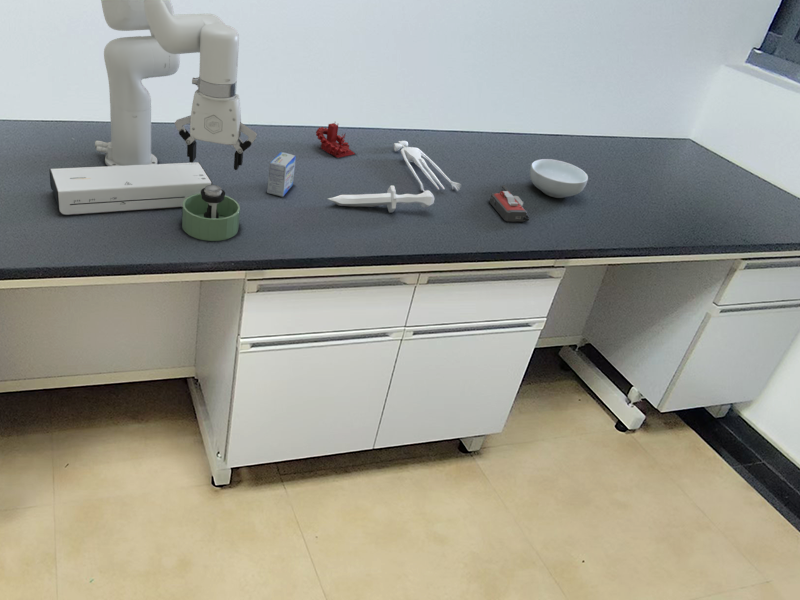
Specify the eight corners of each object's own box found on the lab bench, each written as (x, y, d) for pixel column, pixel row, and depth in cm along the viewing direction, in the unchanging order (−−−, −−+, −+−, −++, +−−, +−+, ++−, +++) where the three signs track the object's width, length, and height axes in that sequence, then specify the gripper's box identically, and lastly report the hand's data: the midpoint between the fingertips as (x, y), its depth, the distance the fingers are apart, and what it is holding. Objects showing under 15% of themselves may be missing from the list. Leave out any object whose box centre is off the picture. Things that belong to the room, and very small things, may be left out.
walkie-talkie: (534, 224, 209) (504, 190, 224) (539, 210, 206) (508, 176, 222) (506, 224, 206) (477, 189, 221) (510, 209, 203) (481, 175, 218)
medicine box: (283, 197, 195) (286, 166, 190) (266, 193, 196) (269, 162, 191) (293, 185, 202) (296, 155, 197) (276, 181, 202) (279, 150, 197)
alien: (413, 146, 239) (417, 132, 236) (458, 201, 217) (463, 185, 214) (378, 146, 234) (382, 131, 231) (420, 202, 212) (425, 186, 209)
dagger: (327, 208, 192) (437, 204, 195) (325, 185, 193) (436, 181, 196) (326, 217, 199) (433, 213, 203) (325, 194, 200) (431, 190, 204)
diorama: (353, 161, 221) (357, 134, 217) (311, 154, 220) (315, 126, 216) (355, 147, 230) (360, 120, 226) (316, 140, 229) (319, 113, 225)
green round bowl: (175, 235, 171) (175, 213, 168) (190, 209, 182) (190, 188, 179) (231, 244, 172) (233, 223, 169) (243, 219, 183) (244, 198, 180)
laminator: (58, 216, 169) (56, 191, 166) (50, 190, 177) (48, 166, 174) (211, 205, 185) (212, 182, 182) (196, 182, 194) (197, 159, 190)
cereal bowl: (567, 181, 238) (574, 160, 234) (590, 206, 225) (597, 184, 221) (517, 177, 233) (523, 156, 230) (537, 203, 220) (544, 181, 216)
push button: (195, 219, 178) (196, 180, 173) (218, 218, 180) (220, 179, 175) (202, 234, 173) (204, 194, 168) (225, 232, 176) (228, 193, 170)
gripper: (170, 85, 155) (170, 164, 164) (256, 100, 156) (251, 177, 166) (180, 74, 162) (179, 150, 171) (262, 89, 163) (257, 163, 172)
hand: (214, 163), depth 168 cm, fingers open, 9 cm apart
